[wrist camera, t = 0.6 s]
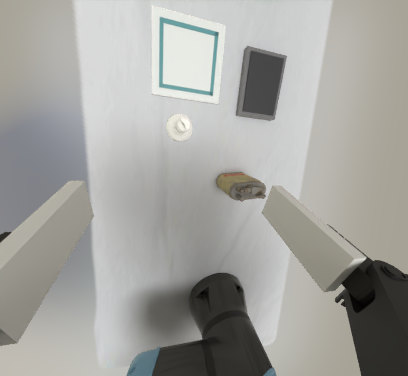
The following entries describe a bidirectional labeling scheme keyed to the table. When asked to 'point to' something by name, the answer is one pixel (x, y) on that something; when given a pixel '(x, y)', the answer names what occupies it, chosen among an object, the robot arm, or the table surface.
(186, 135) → the chess piece
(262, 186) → the lighter
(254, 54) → the ink pad
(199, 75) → the print card
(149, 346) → the table surface
